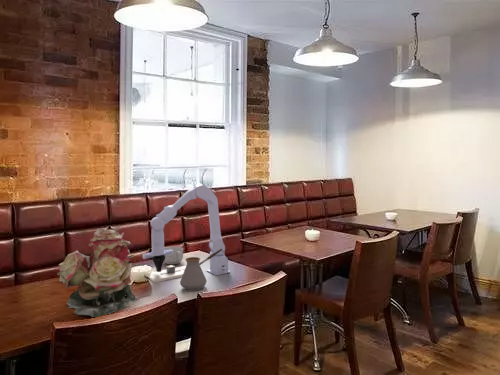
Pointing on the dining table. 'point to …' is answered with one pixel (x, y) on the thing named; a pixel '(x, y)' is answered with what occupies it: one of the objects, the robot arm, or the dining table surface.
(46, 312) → the dining table surface
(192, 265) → the coffee pot
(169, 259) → the teacup
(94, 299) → the rose bouquet
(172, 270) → the breaker handle
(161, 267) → the robot arm
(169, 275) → the plate
